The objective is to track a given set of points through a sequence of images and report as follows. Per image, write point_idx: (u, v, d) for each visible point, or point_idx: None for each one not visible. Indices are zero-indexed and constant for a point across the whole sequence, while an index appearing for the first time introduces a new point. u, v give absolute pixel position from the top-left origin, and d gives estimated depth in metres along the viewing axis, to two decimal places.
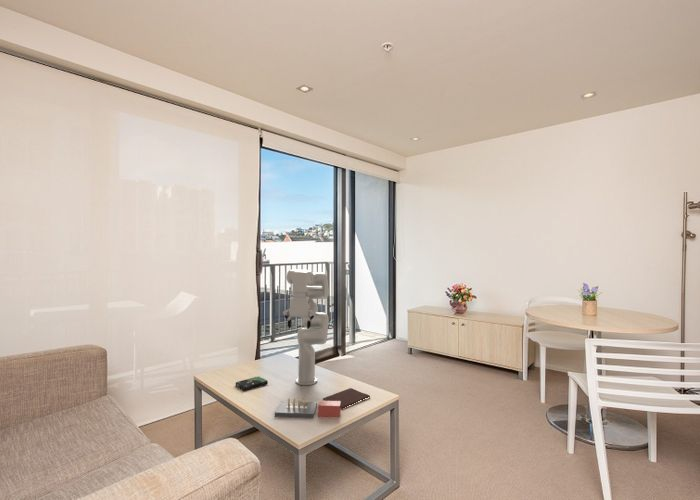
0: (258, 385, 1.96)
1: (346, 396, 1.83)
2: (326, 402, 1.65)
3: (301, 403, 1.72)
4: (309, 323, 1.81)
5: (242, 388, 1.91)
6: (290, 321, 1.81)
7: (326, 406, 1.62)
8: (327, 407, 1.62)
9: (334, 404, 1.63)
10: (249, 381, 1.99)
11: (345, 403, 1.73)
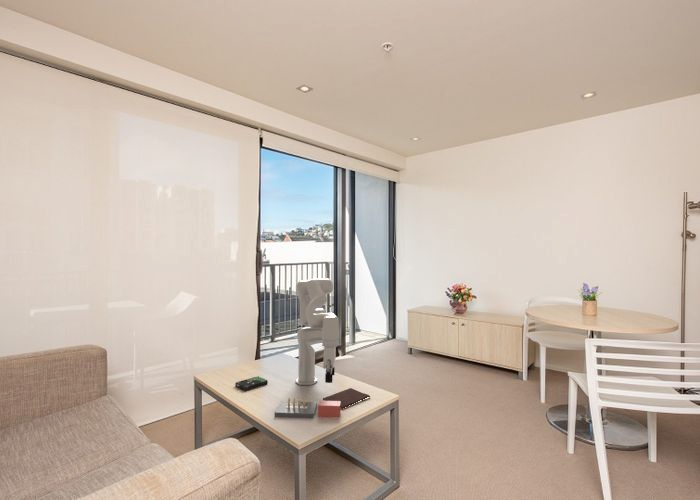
0: (258, 385, 1.97)
1: (346, 396, 1.83)
2: (326, 402, 1.65)
3: (301, 403, 1.72)
4: None
5: (243, 388, 1.91)
6: None
7: (326, 406, 1.62)
8: (327, 407, 1.62)
9: (334, 404, 1.63)
10: (249, 381, 1.99)
11: (345, 403, 1.73)
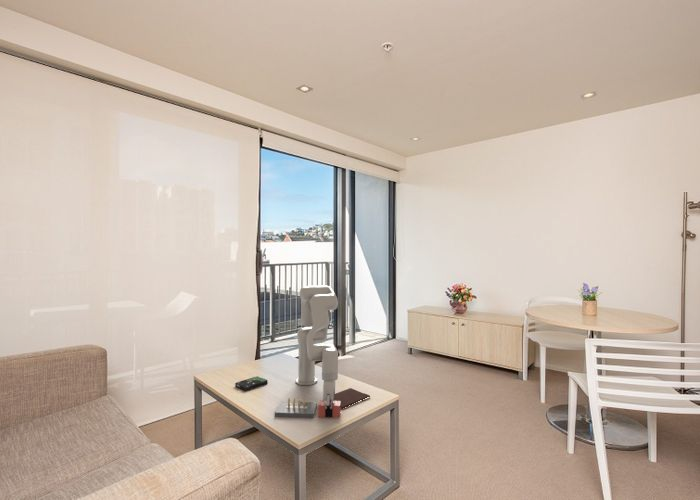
0: (259, 385, 1.97)
1: (346, 396, 1.83)
2: None
3: (301, 403, 1.72)
4: None
5: (243, 388, 1.91)
6: None
7: None
8: None
9: (334, 404, 1.63)
10: (249, 381, 1.99)
11: (345, 403, 1.73)
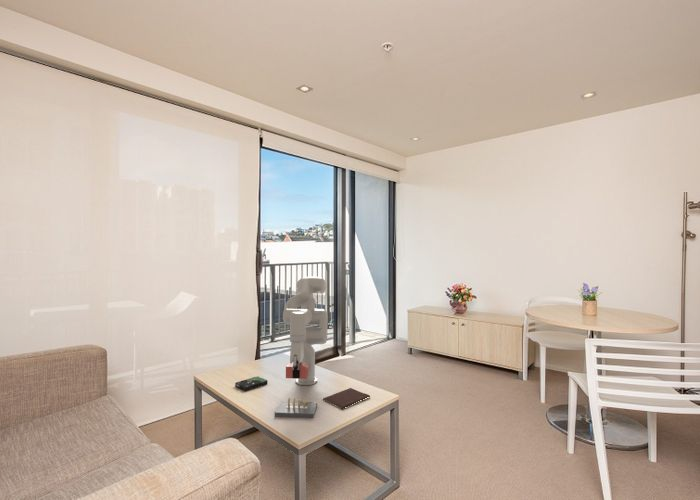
0: (258, 385, 1.97)
1: (346, 396, 1.83)
2: None
3: (301, 403, 1.72)
4: None
5: (243, 388, 1.91)
6: None
7: None
8: None
9: (302, 366, 1.66)
10: (249, 381, 1.99)
11: (345, 403, 1.73)
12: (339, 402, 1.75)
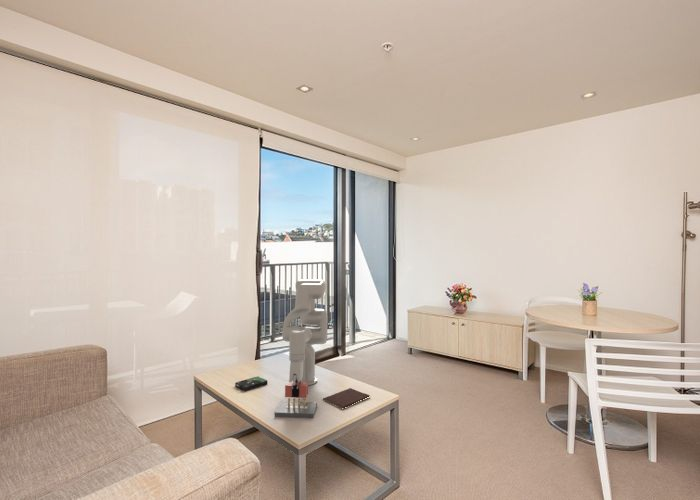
0: (258, 385, 1.97)
1: (346, 396, 1.83)
2: None
3: (301, 403, 1.72)
4: None
5: (242, 388, 1.91)
6: None
7: None
8: None
9: (301, 384, 1.66)
10: (249, 381, 1.99)
11: (345, 403, 1.73)
12: (339, 402, 1.75)
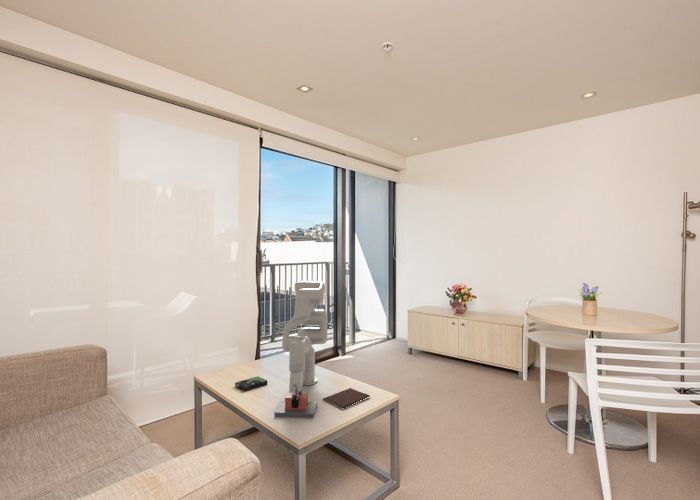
0: (258, 385, 1.96)
1: (346, 396, 1.83)
2: None
3: None
4: None
5: (242, 388, 1.91)
6: None
7: None
8: None
9: (301, 396, 1.66)
10: (249, 381, 1.99)
11: (345, 403, 1.73)
12: (339, 402, 1.75)
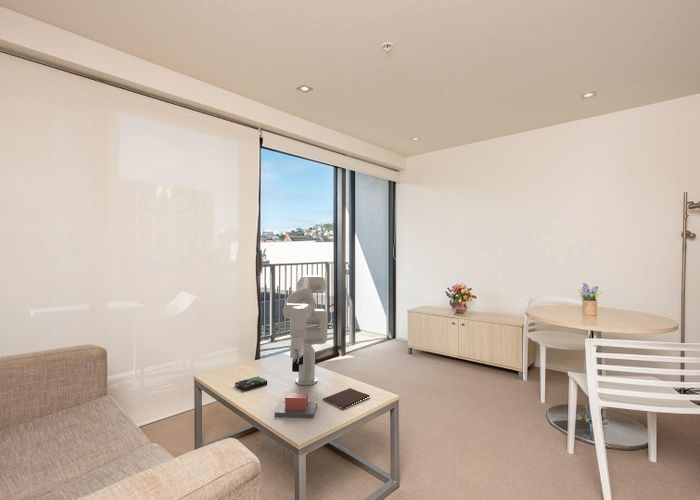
0: (258, 385, 1.96)
1: (346, 396, 1.83)
2: (293, 395, 1.68)
3: None
4: None
5: (242, 388, 1.91)
6: None
7: (293, 398, 1.65)
8: (294, 399, 1.65)
9: (301, 396, 1.66)
10: (249, 381, 1.99)
11: (345, 403, 1.73)
12: (339, 402, 1.75)
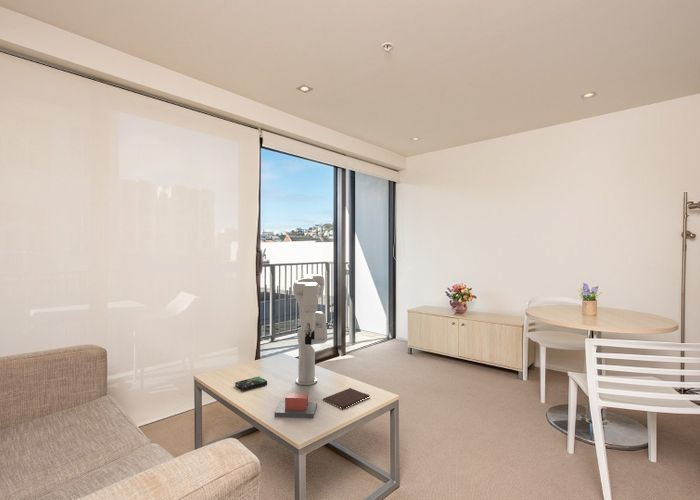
0: (258, 385, 1.96)
1: (346, 396, 1.83)
2: (293, 395, 1.68)
3: None
4: None
5: (241, 388, 1.91)
6: None
7: (293, 398, 1.65)
8: (294, 399, 1.65)
9: (301, 396, 1.66)
10: (249, 381, 1.99)
11: (345, 403, 1.73)
12: (339, 402, 1.75)
